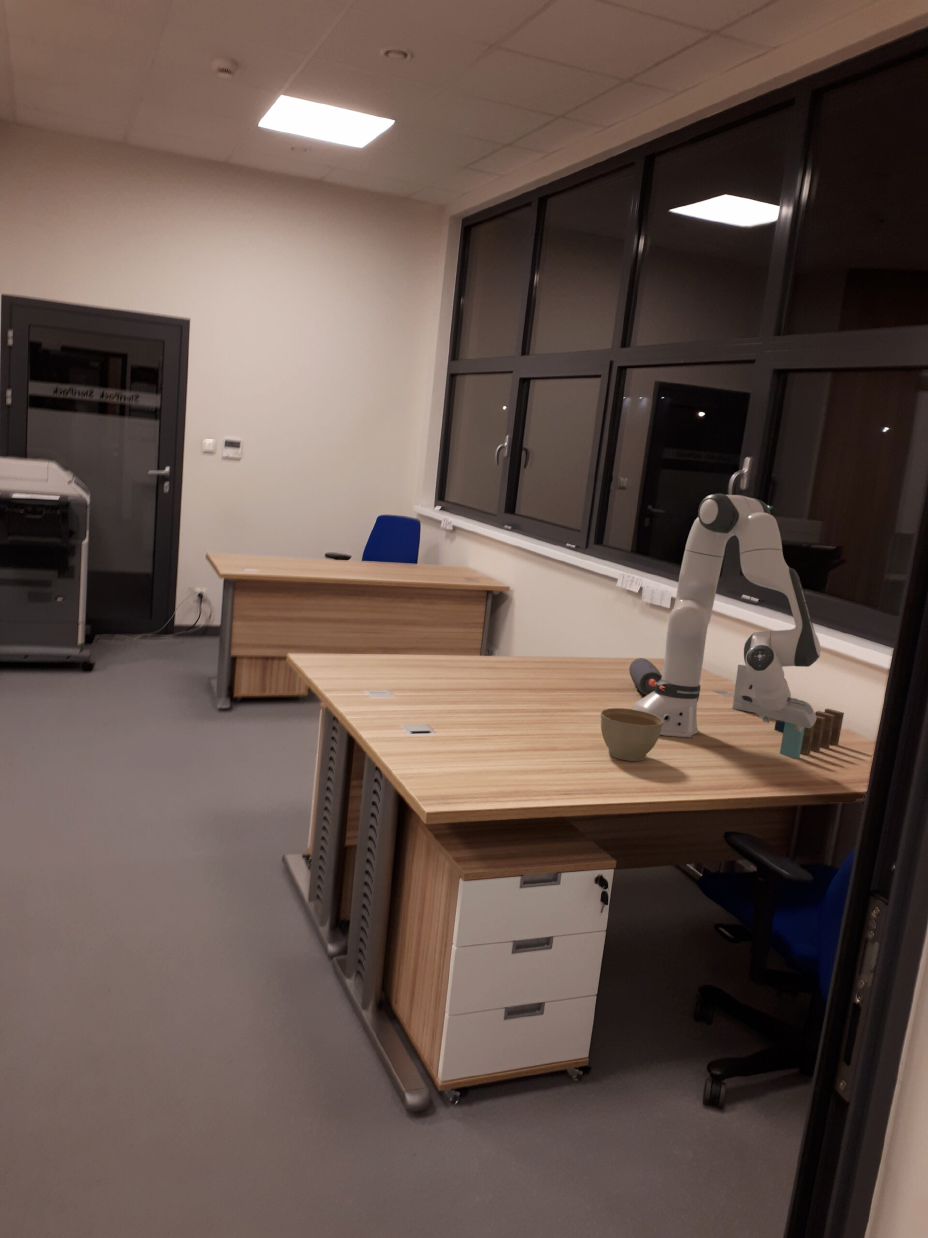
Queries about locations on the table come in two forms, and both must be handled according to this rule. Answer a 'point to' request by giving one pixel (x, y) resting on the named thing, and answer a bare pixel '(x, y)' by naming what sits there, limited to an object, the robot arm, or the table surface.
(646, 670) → the bluetooth speaker
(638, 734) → the planter bowl
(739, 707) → the skincare box
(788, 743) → the teal domino
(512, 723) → the table surface
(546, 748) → the table surface
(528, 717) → the table surface
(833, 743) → the walnut domino
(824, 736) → the walnut domino
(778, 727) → the watch
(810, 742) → the walnut domino
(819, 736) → the walnut domino
